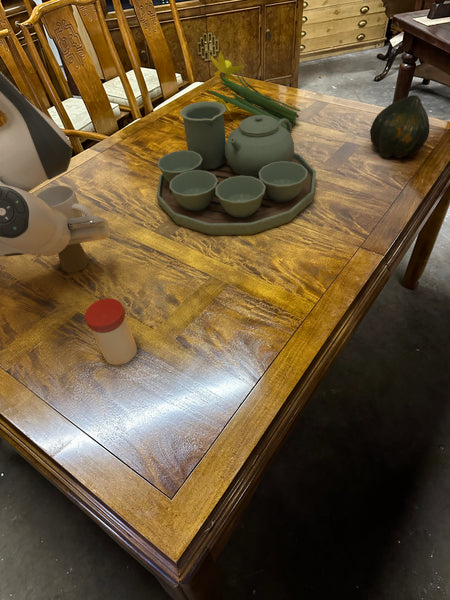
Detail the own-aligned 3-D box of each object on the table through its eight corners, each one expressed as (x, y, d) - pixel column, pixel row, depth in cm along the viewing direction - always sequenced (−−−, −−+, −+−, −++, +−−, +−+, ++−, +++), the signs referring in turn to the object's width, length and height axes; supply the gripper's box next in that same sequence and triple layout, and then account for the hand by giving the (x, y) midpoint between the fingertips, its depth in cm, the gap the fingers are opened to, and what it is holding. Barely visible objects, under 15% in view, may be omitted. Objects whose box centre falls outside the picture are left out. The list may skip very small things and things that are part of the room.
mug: (42, 241, 98) (24, 204, 91) (62, 219, 104) (47, 183, 97) (89, 247, 95) (75, 210, 88) (108, 224, 101) (95, 188, 94)
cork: (74, 253, 94) (56, 212, 86) (95, 259, 92) (79, 217, 84) (56, 269, 90) (36, 228, 83) (77, 276, 88) (58, 234, 80)
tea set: (129, 219, 102) (111, 155, 90) (204, 146, 126) (197, 88, 114) (284, 255, 88) (286, 185, 76) (335, 165, 112) (342, 102, 100)
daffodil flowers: (277, 145, 124) (181, 98, 132) (288, 150, 138) (201, 106, 145) (304, 87, 118) (202, 41, 125) (313, 98, 131) (220, 55, 139)
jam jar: (102, 368, 71) (83, 330, 64) (106, 342, 75) (88, 303, 68) (136, 364, 71) (121, 325, 64) (138, 338, 75) (124, 298, 68)
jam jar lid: (84, 335, 64) (81, 328, 63) (90, 306, 69) (87, 300, 68) (124, 330, 65) (121, 324, 63) (126, 302, 69) (124, 295, 68)
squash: (356, 140, 109) (407, 97, 99) (364, 119, 119) (411, 78, 109) (391, 178, 113) (444, 141, 102) (396, 154, 123) (444, 118, 112)
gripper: (98, 203, 74) (113, 218, 88) (-19, 222, 73) (15, 234, 87) (105, 237, 74) (119, 247, 88) (-12, 257, 73) (20, 264, 87)
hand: (66, 241), depth 87 cm, fingers open, 5 cm apart
